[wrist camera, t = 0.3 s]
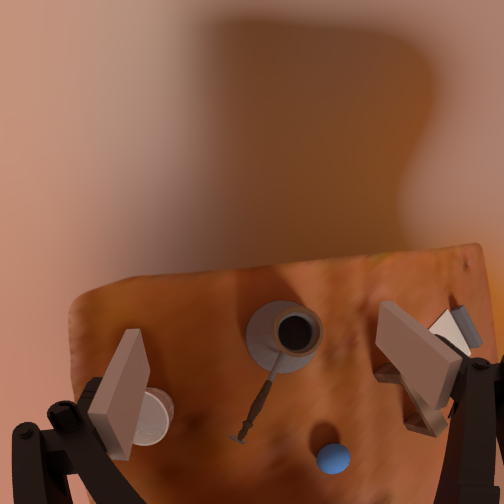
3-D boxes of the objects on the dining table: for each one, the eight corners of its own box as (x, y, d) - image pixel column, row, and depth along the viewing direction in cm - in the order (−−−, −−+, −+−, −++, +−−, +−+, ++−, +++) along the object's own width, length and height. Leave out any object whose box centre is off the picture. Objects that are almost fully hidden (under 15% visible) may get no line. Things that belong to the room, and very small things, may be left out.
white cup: (162, 375, 46) (148, 380, 36) (187, 417, 44) (180, 431, 34) (122, 395, 44) (100, 403, 34) (147, 436, 42) (131, 454, 33)
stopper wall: (473, 344, 52) (482, 342, 49) (470, 348, 52) (479, 347, 49) (454, 307, 54) (463, 304, 52) (450, 311, 54) (459, 309, 51)
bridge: (418, 419, 47) (448, 425, 38) (407, 429, 46) (436, 437, 37) (384, 363, 50) (413, 362, 41) (372, 373, 49) (400, 374, 40)
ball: (348, 455, 44) (361, 463, 39) (322, 473, 42) (333, 484, 37) (333, 434, 45) (345, 441, 40) (306, 452, 44) (316, 462, 38)
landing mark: (470, 353, 52) (471, 353, 51) (437, 392, 48) (438, 392, 48) (447, 309, 54) (447, 309, 54) (411, 346, 51) (412, 346, 51)
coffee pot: (266, 290, 52) (284, 264, 38) (325, 324, 51) (363, 311, 37) (199, 401, 45) (191, 420, 31) (262, 435, 44) (279, 464, 30)
